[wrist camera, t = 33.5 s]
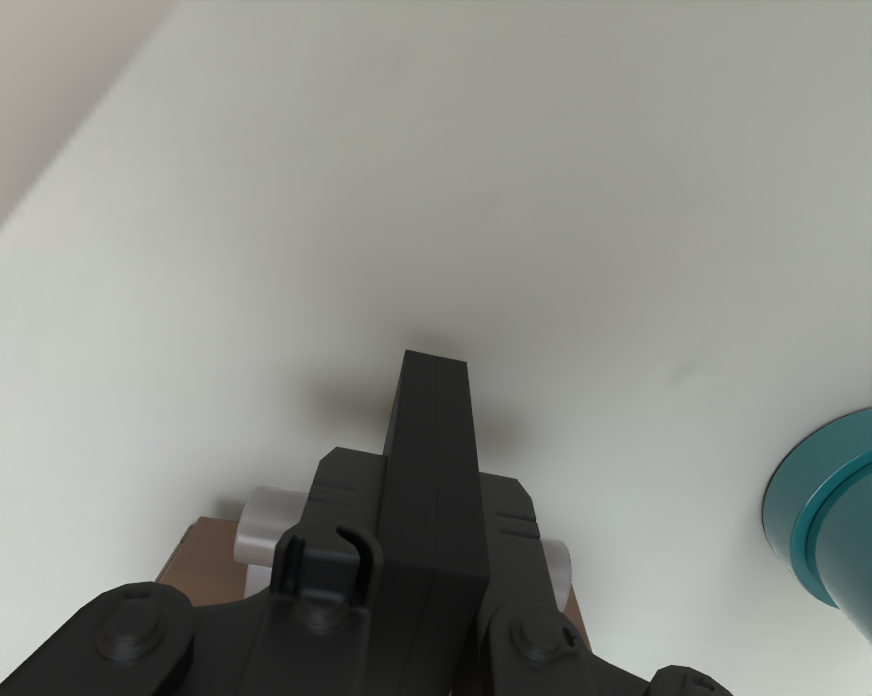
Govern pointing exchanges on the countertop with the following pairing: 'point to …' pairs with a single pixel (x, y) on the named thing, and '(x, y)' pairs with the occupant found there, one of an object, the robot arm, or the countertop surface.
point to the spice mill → (828, 516)
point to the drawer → (255, 544)
